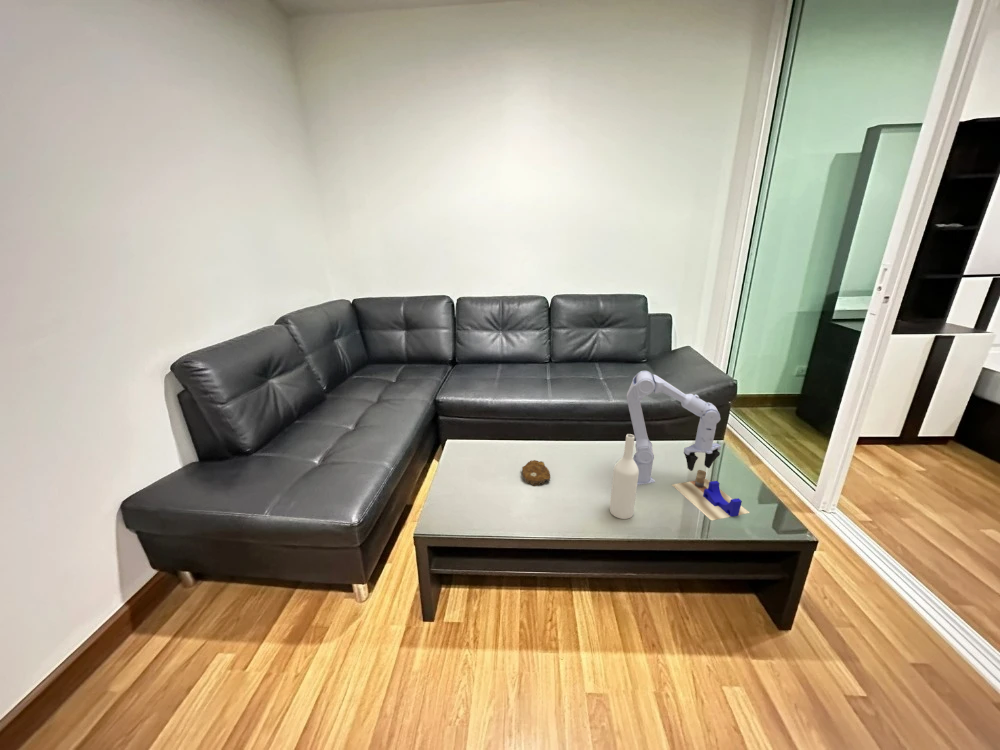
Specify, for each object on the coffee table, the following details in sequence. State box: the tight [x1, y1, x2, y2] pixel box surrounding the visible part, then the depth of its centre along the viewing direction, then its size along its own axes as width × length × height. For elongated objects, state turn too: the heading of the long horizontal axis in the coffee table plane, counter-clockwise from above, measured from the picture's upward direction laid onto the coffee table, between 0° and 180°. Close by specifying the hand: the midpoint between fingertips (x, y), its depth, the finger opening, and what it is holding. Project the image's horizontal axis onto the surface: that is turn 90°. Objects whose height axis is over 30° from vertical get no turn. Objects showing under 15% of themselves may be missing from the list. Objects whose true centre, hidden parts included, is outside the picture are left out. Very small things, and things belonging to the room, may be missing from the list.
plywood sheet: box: [671, 478, 751, 521], centre depth 144 cm, size 16×21×1 cm
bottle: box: [609, 433, 639, 520], centre depth 133 cm, size 8×8×30 cm
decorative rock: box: [521, 459, 551, 487], centre depth 159 cm, size 11×4×15 cm
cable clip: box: [703, 480, 743, 518], centre depth 139 cm, size 12×4×6 cm, turn 12°
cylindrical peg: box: [694, 469, 707, 488], centre depth 151 cm, size 3×3×6 cm
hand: (698, 467), depth 149 cm, fingers open, 7 cm apart
